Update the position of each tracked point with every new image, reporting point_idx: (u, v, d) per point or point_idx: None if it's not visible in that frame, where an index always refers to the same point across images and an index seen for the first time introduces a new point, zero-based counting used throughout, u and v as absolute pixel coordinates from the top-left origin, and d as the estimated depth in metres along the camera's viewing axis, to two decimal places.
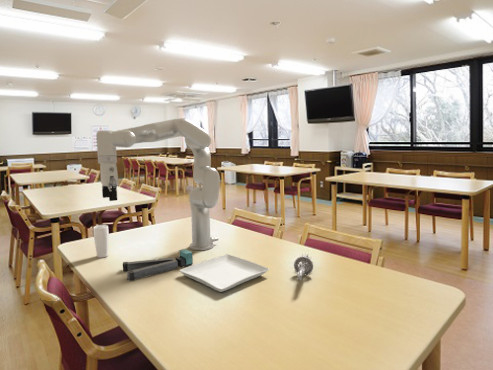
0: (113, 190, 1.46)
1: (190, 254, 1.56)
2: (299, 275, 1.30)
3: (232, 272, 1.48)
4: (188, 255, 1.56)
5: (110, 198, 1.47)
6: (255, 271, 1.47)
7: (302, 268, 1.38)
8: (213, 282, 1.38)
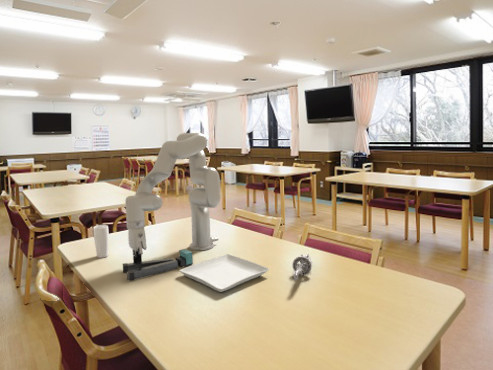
0: None
1: (190, 254, 1.56)
2: (294, 275, 1.30)
3: (232, 272, 1.48)
4: (188, 255, 1.56)
5: None
6: (255, 271, 1.47)
7: (299, 268, 1.38)
8: (213, 282, 1.38)
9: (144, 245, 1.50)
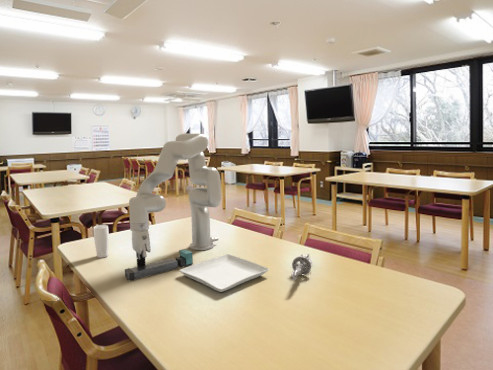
0: None
1: (190, 254, 1.56)
2: (293, 274, 1.30)
3: (232, 272, 1.48)
4: (188, 255, 1.56)
5: None
6: (255, 271, 1.47)
7: (298, 268, 1.38)
8: (213, 282, 1.38)
9: (148, 248, 1.46)
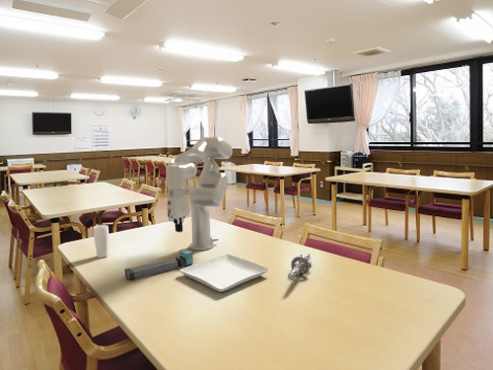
0: None
1: (190, 254, 1.56)
2: (290, 274, 1.31)
3: (232, 272, 1.48)
4: (188, 255, 1.56)
5: None
6: (255, 271, 1.47)
7: (296, 268, 1.39)
8: (213, 282, 1.38)
9: (172, 214, 1.53)
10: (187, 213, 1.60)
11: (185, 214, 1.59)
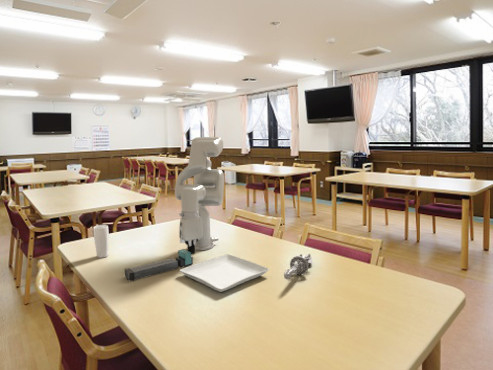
0: None
1: (189, 254, 1.56)
2: (286, 273, 1.31)
3: (232, 272, 1.48)
4: (187, 255, 1.55)
5: None
6: (255, 271, 1.47)
7: (294, 267, 1.39)
8: (213, 282, 1.38)
9: (182, 235, 1.54)
10: (200, 236, 1.59)
11: (197, 237, 1.58)
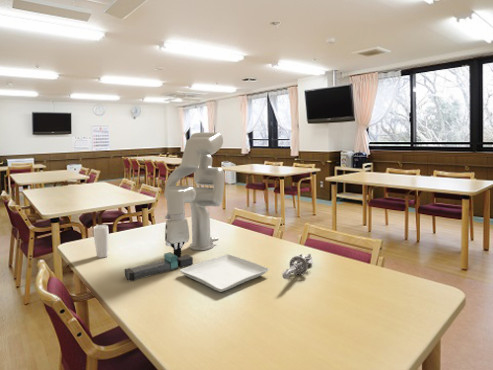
0: None
1: (175, 258, 1.52)
2: (284, 273, 1.31)
3: (232, 272, 1.48)
4: (173, 259, 1.51)
5: None
6: (255, 271, 1.47)
7: (293, 267, 1.39)
8: (213, 282, 1.38)
9: (167, 238, 1.50)
10: (186, 239, 1.55)
11: (183, 240, 1.54)
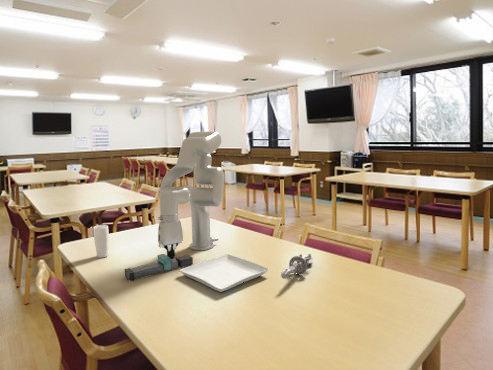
0: None
1: (168, 259, 1.50)
2: (283, 273, 1.32)
3: (232, 272, 1.48)
4: (166, 260, 1.49)
5: (168, 255, 1.54)
6: (255, 271, 1.47)
7: (292, 267, 1.39)
8: (213, 282, 1.38)
9: (160, 240, 1.48)
10: (180, 241, 1.53)
11: (177, 241, 1.52)
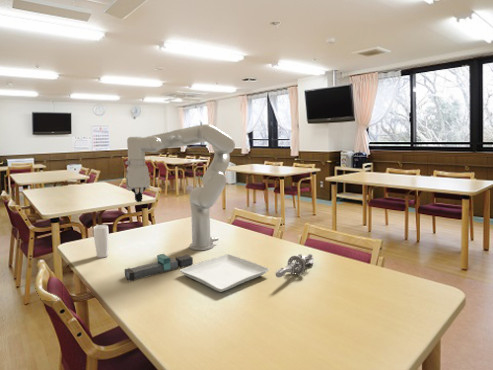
0: None
1: (168, 259, 1.50)
2: (278, 272, 1.33)
3: (232, 272, 1.48)
4: (165, 260, 1.49)
5: None
6: (255, 271, 1.47)
7: (289, 266, 1.40)
8: (213, 282, 1.38)
9: (128, 183, 1.61)
10: (147, 185, 1.65)
11: (144, 185, 1.64)
